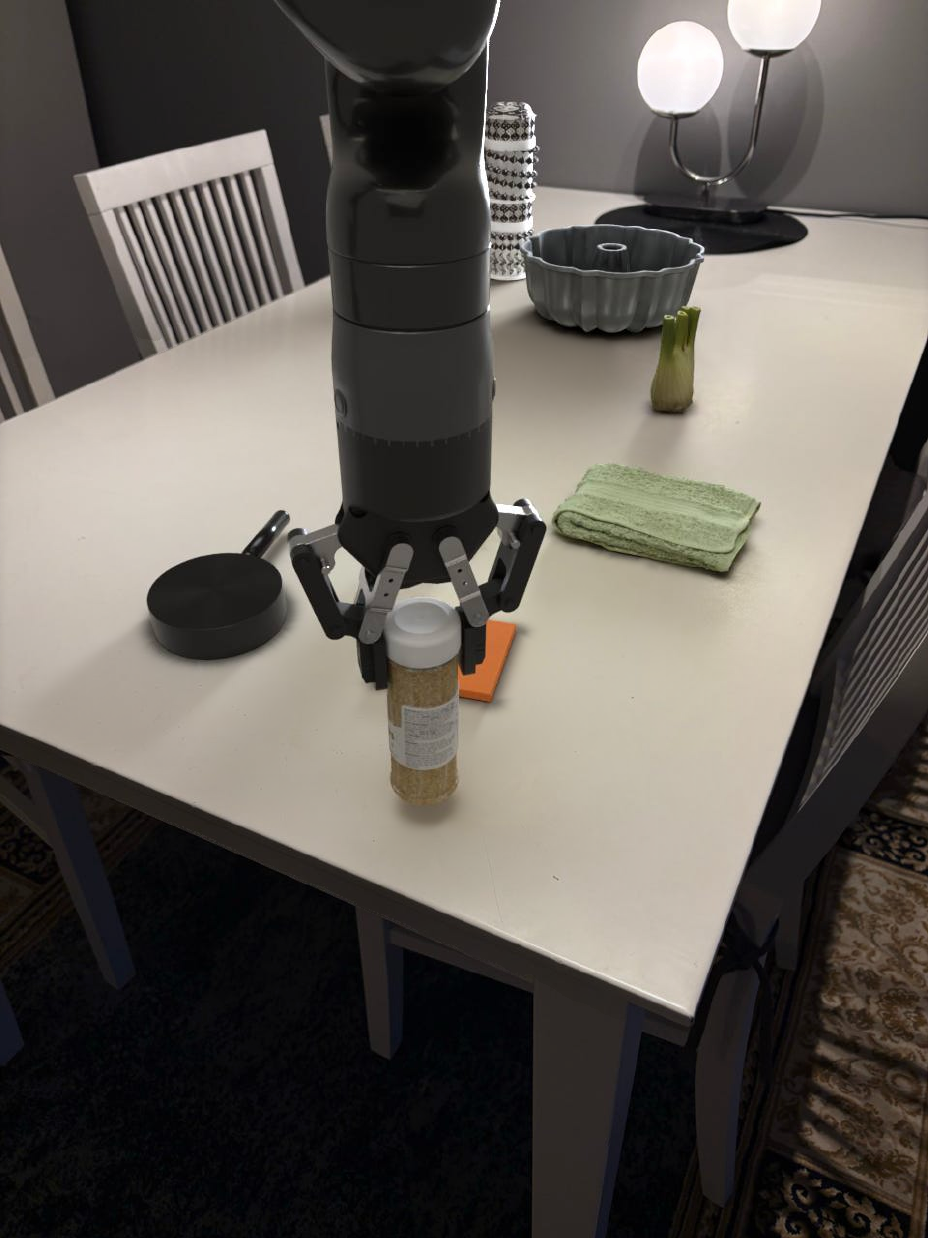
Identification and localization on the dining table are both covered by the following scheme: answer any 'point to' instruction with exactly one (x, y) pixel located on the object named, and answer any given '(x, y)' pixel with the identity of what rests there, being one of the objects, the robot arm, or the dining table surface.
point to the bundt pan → (610, 275)
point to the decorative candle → (510, 184)
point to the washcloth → (658, 516)
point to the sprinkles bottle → (423, 698)
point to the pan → (221, 600)
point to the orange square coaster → (488, 662)
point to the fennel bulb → (676, 362)
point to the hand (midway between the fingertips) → (421, 672)
